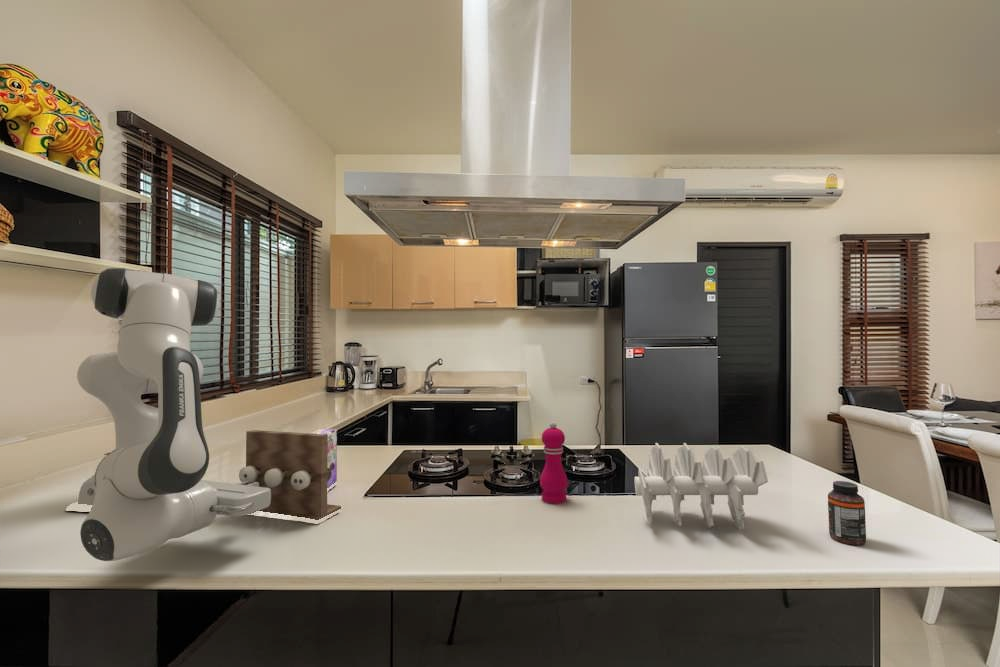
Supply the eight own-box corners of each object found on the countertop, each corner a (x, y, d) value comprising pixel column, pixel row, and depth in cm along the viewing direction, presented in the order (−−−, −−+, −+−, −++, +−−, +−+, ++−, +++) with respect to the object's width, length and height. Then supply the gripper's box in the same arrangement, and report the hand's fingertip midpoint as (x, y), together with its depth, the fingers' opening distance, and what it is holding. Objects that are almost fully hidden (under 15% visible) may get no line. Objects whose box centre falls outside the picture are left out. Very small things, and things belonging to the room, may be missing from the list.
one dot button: (238, 483, 104) (238, 466, 105) (258, 477, 110) (258, 460, 110) (251, 485, 103) (252, 467, 103) (271, 478, 109) (271, 462, 109)
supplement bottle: (829, 531, 95) (828, 477, 95) (866, 539, 91) (864, 482, 91) (828, 541, 90) (826, 484, 90) (866, 549, 86) (864, 489, 87)
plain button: (264, 486, 102) (264, 468, 102) (282, 479, 108) (282, 463, 108) (278, 488, 101) (278, 470, 101) (296, 481, 106) (296, 464, 106)
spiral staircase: (636, 531, 105) (751, 532, 101) (644, 524, 90) (780, 525, 86) (628, 453, 114) (733, 451, 109) (633, 434, 98) (756, 431, 94)
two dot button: (290, 489, 100) (290, 471, 100) (308, 482, 105) (308, 465, 105) (305, 491, 99) (305, 472, 99) (322, 483, 104) (322, 466, 104)
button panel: (241, 514, 107) (242, 432, 108) (268, 503, 114) (269, 426, 115) (318, 524, 100) (318, 437, 101) (341, 512, 108) (341, 430, 109)
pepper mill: (567, 495, 119) (566, 419, 120) (568, 504, 112) (567, 424, 113) (540, 494, 120) (539, 419, 121) (539, 503, 113) (538, 424, 113)
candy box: (317, 501, 116) (317, 437, 116) (294, 501, 116) (295, 437, 116) (337, 485, 129) (337, 428, 130) (317, 485, 129) (317, 428, 130)
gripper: (235, 495, 81) (292, 474, 94) (154, 484, 87) (218, 467, 100) (234, 530, 81) (292, 504, 94) (154, 517, 87) (218, 495, 100)
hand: (253, 485), depth 97 cm, fingers closed
